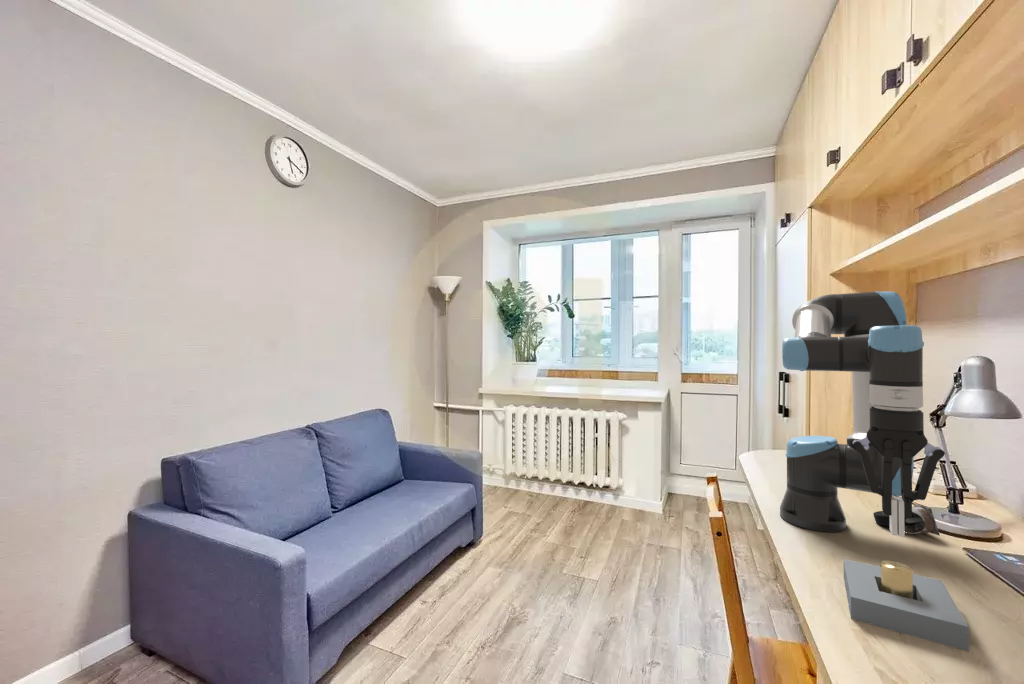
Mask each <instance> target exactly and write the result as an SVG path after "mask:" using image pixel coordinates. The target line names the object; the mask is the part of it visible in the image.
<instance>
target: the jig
mask: <svg viewBox="0 0 1024 684" xmlns="http://www.w3.org/2000/svg"><path fill="white" fill-rule="evenodd" d="M842 562H843V581H844V587H845V591H846V592H845V593H846V598H847V605H848V604H849V605H848V608H849V615H850V619H852V620H855V621H858V622H862V623H865V624H869V625H873V626H877V627H880V628H883V629H887V630H891V631H895V632H898V633H901V634H906V635H909V636H912V637H914V638H918V639H923V640H925V641H930V642H933V643H937V644H941V645H944V646H948V647H951V648H955V649H958V650H962V651H965V652H969V651H970V639H969V638H970V637H969V634H970V633H969V632H970V631H969V630H970V629H969V628H970V627H969V625H968V623H967V622H966V619H965V618H964V617H963V615H962V613H961V611H960V610H959V608H958V606H957V605H956V603H955V601H954V600H953V597H952V595H951V594H950V592H949V590H948V589H947V588H946V585H945V584H944V582H943V581H942V580H941V579H937V578H933V577H928V576H924V575H919V574H914V573H913V599H910V598H906V597H901V596H897V595H893V594H889V593H885V592H881V566H878V565H875V564H874V565H873V564H869V563H864V562H859V561H855V560H849V559H846V558H843V561H842Z"/></svg>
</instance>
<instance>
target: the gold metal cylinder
mask: <svg viewBox="0 0 1024 684" xmlns="http://www.w3.org/2000/svg"><path fill="white" fill-rule="evenodd" d="M880 567H881V592H885V593H889V594H893V595H897V596H901V597H906V598H910V599H913V574H914V570H913V569H912V568H911V567H910V566H908V565H907V564H904V563H900V562H899V561H898V562H897V561H894V560H893V561H892V560H882V561H881V562H880Z"/></svg>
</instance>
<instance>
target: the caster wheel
mask: <svg viewBox="0 0 1024 684" xmlns="http://www.w3.org/2000/svg"><path fill="white" fill-rule="evenodd" d="M913 506H914V507H913ZM913 506H912V517H911V519H910V518H904V531H905V532H907V533H908V534H907V535H914V534H915V535H916V534H918V535H919V534H928V533H929V534H932V535H936V536H940V531H939V528H938V524H937V522H936V519H935V515H934V513H933V511H932V507H929V506H924V505H920V504H916V503H913ZM873 518H874V521H876V522H875V523H876V524H877V525H881V526H887V527H890V515H885V514H884V512H883V510H878V511H875V512H873Z"/></svg>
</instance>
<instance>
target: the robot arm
mask: <svg viewBox="0 0 1024 684" xmlns="http://www.w3.org/2000/svg"><path fill="white" fill-rule="evenodd" d="M791 322H792V323H791V324H792V328H794V329H793V330H794V336H793V337H786V338H784V339H783V340H782V347H781V348H782V351H781V354H782V366H783V368H784V369H785V370H791V371H800V372H804V371H807V372H809V371H810V372H811V371H812V372H815V371H816V372H852V373H851V378H852V412H853V415H852V416H853V432H852V433H851V434H850V435H848V436H847V437H846V444H843V443H842V444H841V443H839V441H838V440H837V439H836V438H835V437H833V436H827V435H826V436H825V435H802V436H796V437H793V438H790V439H789V440H788V441H787V443H786V452H785V457H786V491H785V494H784V496H783V499H782V500H781V503H780V507H779V515H780V518H782V520H784V521H786V522H787V523H790V524H791V525H794V526H797V527H800V528H804V529H807V530H812V531H818V532H827V533H829V532H830V533H837V532H843V531H844V530H846V528H847V517H846V516H845V512H844V510H843V508H842V506H841V503H840V500H839V496H838V488H839V489H847V490H851V491H853V490H854V491H859V492H866V493H870V494H872V493H873V494H877V495H879V496H880V497H881V511H883V512H884V514H885V515H890V526H889V531H890V533H891V535H892V536H897V537H901V538H905V535H906V534H905V533H904V518H910V519H911V517H912V508H913V502H914V501H918V500H919V501H925V500H926V499H927V497H928V496H927V495H928V492H929V490H930V486H931V484H932V479H933V477H934V474H935V470H936V467H937V465H938V462H939V461H941V459H942V458H943V457H944V456H945V455H946V453H945V451H944V450H943V449H941V448H940V447H938V446H935V445H933V444H931V443H929V441H928V439H927V437H926V436H925V434H924V425H925V423H924V421H925V420H924V412H923V411H922V410H921V408H924V389H923V388H924V384H923V381H924V380H923V375H924V374H923V369H924V368H923V367H924V366H923V358H924V356H923V354H924V346H925V343H924V341H923V330H922V328H921V327H920V326H918V325H912V324H910V325H908V323H907V313H906V309H905V305H904V301H903V299H902V297H901V296H900V294H899V293H897V292H895V291H892V290H891V291H878V290H875V291H866V292H854V293H853V292H851V293H837V294H836V293H832V294H831V293H830V294H826V295H821V296H817V297H815V298H813V299H809V300H808V301H806V302H805V303H803V304H801V305H800V306H798V307H797V309H796V310H795V311H794V313H793V314H792V319H791ZM832 335H843V336H832ZM923 449H924V451H923V453H924V455H925V457H924V458H923V459H924V460H923V462H922V465H921V468H920V471H919V475H918V478H917V481H916V485H915V487H914V490H913V476H914V467H915V463H914V457H915V456H916V455H918V454H919V453H920V451H922V450H923Z"/></svg>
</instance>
